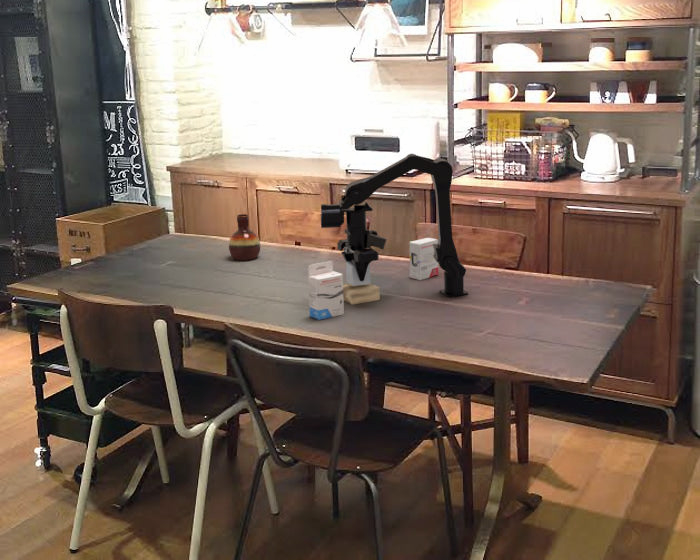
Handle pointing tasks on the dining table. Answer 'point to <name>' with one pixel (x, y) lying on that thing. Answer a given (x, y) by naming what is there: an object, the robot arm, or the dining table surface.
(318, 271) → the ink box
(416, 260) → the ink box
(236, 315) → the dining table surface
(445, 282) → the robot arm
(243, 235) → the vase
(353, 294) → the beige square block
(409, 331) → the dining table surface
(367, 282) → the gray paneled cube
